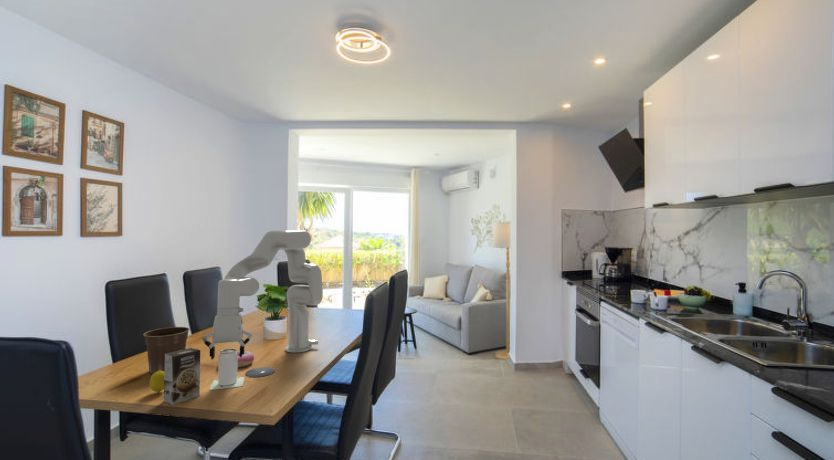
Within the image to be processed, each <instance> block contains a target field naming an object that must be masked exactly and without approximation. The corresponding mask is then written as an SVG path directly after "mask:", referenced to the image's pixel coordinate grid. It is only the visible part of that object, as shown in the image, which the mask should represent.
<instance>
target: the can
mask: <svg viewBox="0 0 834 460" xmlns="http://www.w3.org/2000/svg"><path fill="white" fill-rule="evenodd" d="M236 351H237V349H234V348H227V349H222V350H220V351H219V354H218V361H217V363H218V365H217V368H218V369H217V370H218V371H217V372H218V374H217V375H218V376H217V380H218V384H219V385H221V386H228V385H232V384H235V383H236V382H237V378H238V368H237V352H236Z"/></svg>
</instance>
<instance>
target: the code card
mask: <svg viewBox="0 0 834 460" xmlns="http://www.w3.org/2000/svg"><path fill="white" fill-rule="evenodd" d="M245 377H246V376H240V377H239V376H237V382H236V383H235V384H232V385H228V386H221V385H219V384H218V379H214V380H213V381H212V383H211V385H210V386H209V389H208V391H215V390H224V389H233V388H241V387H243V385H244V382H245V379H246V378H245Z"/></svg>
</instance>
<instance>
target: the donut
mask: <svg viewBox="0 0 834 460" xmlns="http://www.w3.org/2000/svg"><path fill="white" fill-rule="evenodd" d="M236 352H237V369H238V368H243V367H246V366H249V365H251V364H252V363H253V362H254V359H255V356H254V353H252V352H251V351H249V350H244V354H242V357H240V350H236Z"/></svg>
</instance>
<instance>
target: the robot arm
mask: <svg viewBox="0 0 834 460" xmlns="http://www.w3.org/2000/svg"><path fill="white" fill-rule="evenodd" d="M311 240H312V237H311V234H310V232H308V231H307V230H304V229H303V230H302V229H297V230H295V229H283V230H269V231H267V232H266V233H265V234H264V235H263V237H262V238H261V240H259V243H258V244H257V245H256V247H255V248H254V250H253V252H252V253H251V254H250V255H248V256H246V257H244V258H243V259H241V260H240V261H239V262H237V263H235V264H234V265H233V266H232V267H231V269H230V270H229V271H228V272H227V273H226V275H225V277H224V278H223V279H220V280H219V281H218V283H217V306H216V307H217V308H216V309H217V310H216V311H217V312H216V315H215V316H214V320H213V326H212V331H210V332H208V333H206V334H204V335H202V336H201V340H202V342H204V345H205V346H206V347H208V349H209V357H211V358H210V359H211V360H214V359H215V356H216V355H215V354H216V347H215V345H216V344H223V343H224V344H225V343H238V344H239V345H240V346H239V351H240V357H242V354H244V351H245V346H246V344H248V343H249V342H250V340H251V338H252V336H253V333H252V332H250V331H248V330H246V329H244V328H243V326H244V325H243V316H242V314H241V312H244V307H240V298H241V297H252V296H254V295H256V294H257V293H258V292H259V290H260V283H259V281H258V280H257V279H256V278H255V277H250V276H248V275H249V274H251V273H253V272H256V271H258V270H261V269H264V268H267V267H268V266H270V265H271V263H272V262H273V259H274V258H275V256H276V255H277V254H278V252H279V251H281V250H283V251H284V253H285V255H286V258H287V269H288V271H287V272H288V278H289V281H290V282H293V283H297V284H293V285H291V286H289V288H288V289H287V291H286V299H287V305H288V306H287V307H288V339H287V340H288V343H287V344H288V345H287V346H285V347H284V351H285V352H287V353H294V354H295V353H297V354H298V353H304V352H309V351H310V350H312V345H314V346H316V345H319V340H315V339H310V338H309V334H310V333H309V332H310V330H309V329H310V327H309V326H310V324H309V323H310V320H309V319H310V312H309V309H308V307H307V306H317V305H320V304H321V303H322V302H323V301H322V300H323V296H324V295H323V294H324V293H323V291H324V290H323V274H322V270H321V267H320V266H319V265H317V264H316V263H307V261H306V258H307V257H306V253H305V249H307V248H308V247H309V246H310V244H311ZM299 283H300V284H299ZM307 284H308V285H307ZM244 335H245V336H247V337H246V339H243V337H244ZM210 337H211V339H212V340H211V341H212V342H211V341H209V339H208V338H210Z"/></svg>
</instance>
